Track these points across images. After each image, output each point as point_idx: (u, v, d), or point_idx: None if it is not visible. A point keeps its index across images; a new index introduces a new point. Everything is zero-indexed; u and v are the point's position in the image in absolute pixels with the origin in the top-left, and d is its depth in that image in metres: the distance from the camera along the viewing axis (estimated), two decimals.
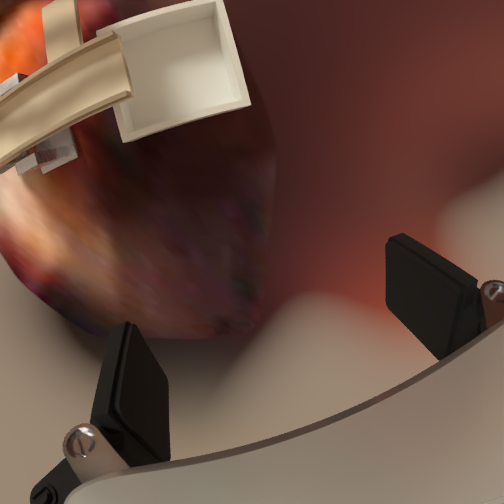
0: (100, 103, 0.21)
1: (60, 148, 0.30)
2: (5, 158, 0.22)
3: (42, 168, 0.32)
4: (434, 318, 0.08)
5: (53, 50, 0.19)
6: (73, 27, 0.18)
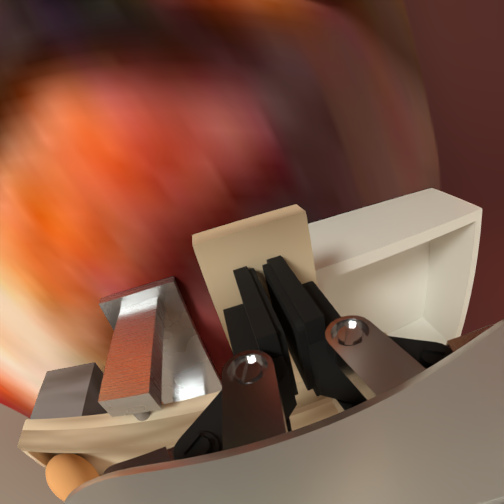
0: None
1: None
2: None
3: None
4: (295, 348, 0.09)
5: None
6: None
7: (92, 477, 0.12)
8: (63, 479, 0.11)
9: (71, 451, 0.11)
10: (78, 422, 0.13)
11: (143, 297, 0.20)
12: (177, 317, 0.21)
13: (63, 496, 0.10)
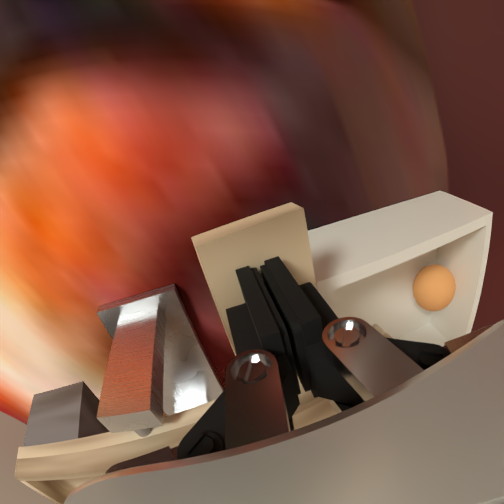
0: None
1: None
2: None
3: (168, 413, 0.24)
4: (292, 349, 0.09)
5: None
6: None
7: (415, 290, 0.22)
8: (425, 267, 0.22)
9: (73, 476, 0.10)
10: (76, 445, 0.12)
11: (142, 306, 0.19)
12: (178, 326, 0.20)
13: None
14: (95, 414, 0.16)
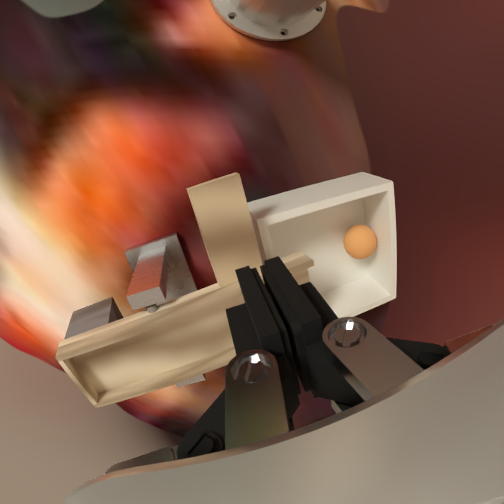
0: None
1: None
2: (171, 383, 0.25)
3: None
4: (292, 349, 0.09)
5: (224, 264, 0.24)
6: (251, 237, 0.24)
7: (343, 242, 0.33)
8: None
9: (102, 344, 0.21)
10: (106, 327, 0.23)
11: (155, 246, 0.30)
12: (178, 261, 0.32)
13: None
14: (118, 319, 0.27)
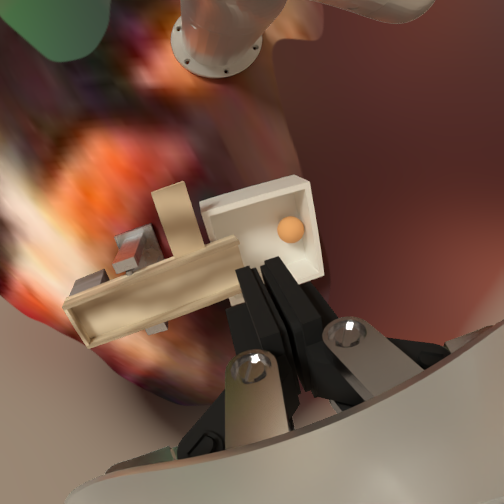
0: (233, 293, 0.38)
1: None
2: (141, 329, 0.36)
3: None
4: (292, 349, 0.09)
5: (176, 242, 0.35)
6: (194, 224, 0.35)
7: (277, 230, 0.44)
8: (284, 218, 0.44)
9: (94, 296, 0.32)
10: (98, 286, 0.34)
11: (136, 233, 0.41)
12: (152, 244, 0.42)
13: None
14: None
